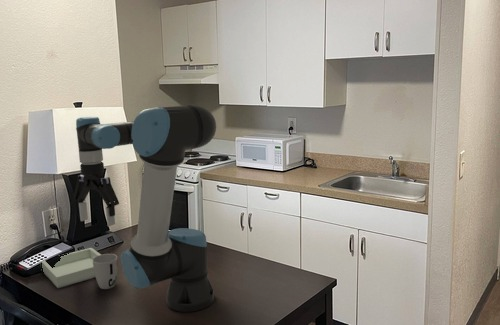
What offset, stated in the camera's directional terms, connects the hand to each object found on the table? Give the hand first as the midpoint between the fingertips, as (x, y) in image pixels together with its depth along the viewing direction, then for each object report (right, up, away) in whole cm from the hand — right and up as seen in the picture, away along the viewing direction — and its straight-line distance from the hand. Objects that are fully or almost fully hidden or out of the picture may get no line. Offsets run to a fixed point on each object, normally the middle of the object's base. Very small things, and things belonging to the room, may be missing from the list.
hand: (97, 222), depth 159 cm
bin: (-11, -19, +10) cm, 25 cm away
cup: (+4, -22, -2) cm, 22 cm away
